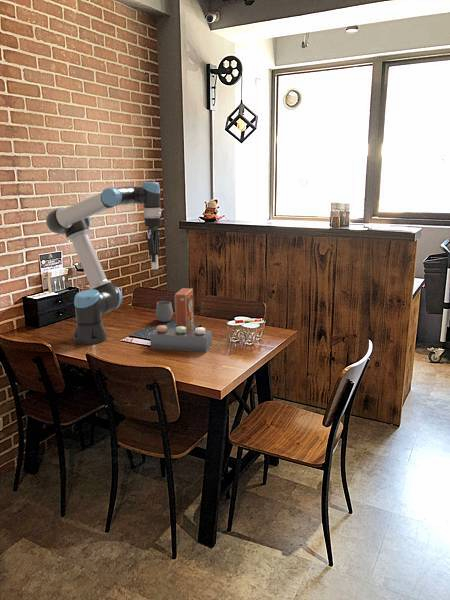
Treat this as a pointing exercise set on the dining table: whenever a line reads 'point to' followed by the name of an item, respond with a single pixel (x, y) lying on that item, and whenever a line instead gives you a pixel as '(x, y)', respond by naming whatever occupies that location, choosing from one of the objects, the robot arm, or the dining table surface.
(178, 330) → the knob mid
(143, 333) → the dining table surface
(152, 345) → the mount
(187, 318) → the orange cardboard box
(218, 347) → the dining table surface
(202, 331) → the knob
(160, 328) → the knob
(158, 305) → the cup
